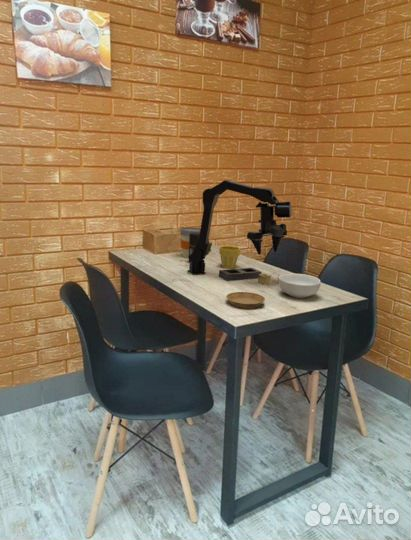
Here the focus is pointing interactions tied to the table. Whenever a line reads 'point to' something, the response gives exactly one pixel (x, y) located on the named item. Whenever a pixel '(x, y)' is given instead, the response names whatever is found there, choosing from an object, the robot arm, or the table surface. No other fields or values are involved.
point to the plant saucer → (245, 299)
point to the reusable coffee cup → (187, 239)
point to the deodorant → (192, 242)
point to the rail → (239, 274)
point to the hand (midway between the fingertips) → (267, 253)
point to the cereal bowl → (299, 285)
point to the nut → (264, 279)
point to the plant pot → (229, 256)
